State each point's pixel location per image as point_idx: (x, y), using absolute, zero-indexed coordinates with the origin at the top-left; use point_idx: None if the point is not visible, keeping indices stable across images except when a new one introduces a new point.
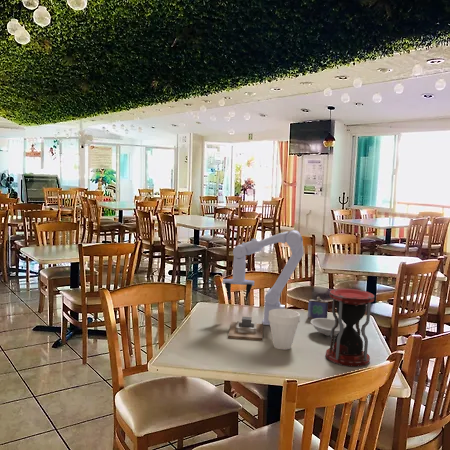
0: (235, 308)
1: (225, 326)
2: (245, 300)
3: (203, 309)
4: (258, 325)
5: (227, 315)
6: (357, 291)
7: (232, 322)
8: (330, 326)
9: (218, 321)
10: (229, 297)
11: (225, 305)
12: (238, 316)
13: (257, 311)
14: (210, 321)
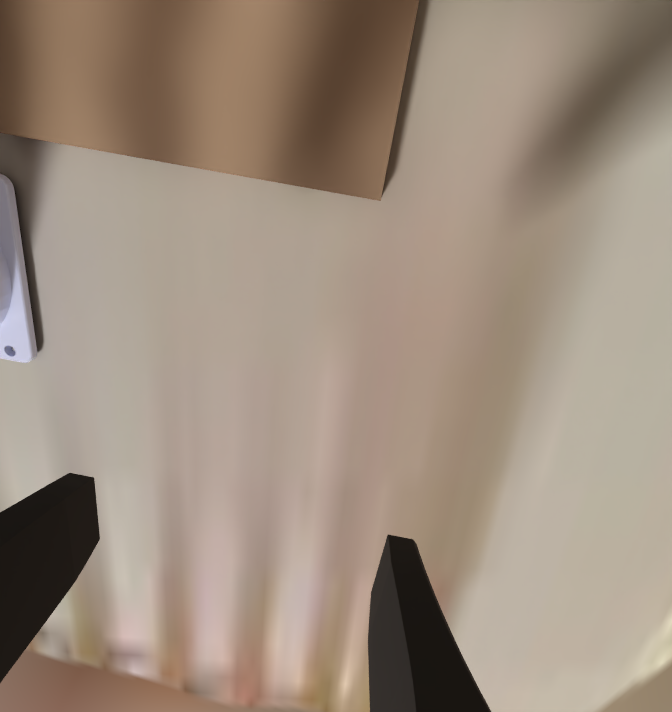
0: (293, 641)
1: (475, 88)
2: (87, 479)
3: (578, 634)
4: (30, 51)
5: (384, 487)
6: None
7: (372, 174)
8: None
9: (521, 299)
10: (408, 569)
11: (366, 699)
12: (280, 460)
13: (116, 575)
14: (621, 296)
